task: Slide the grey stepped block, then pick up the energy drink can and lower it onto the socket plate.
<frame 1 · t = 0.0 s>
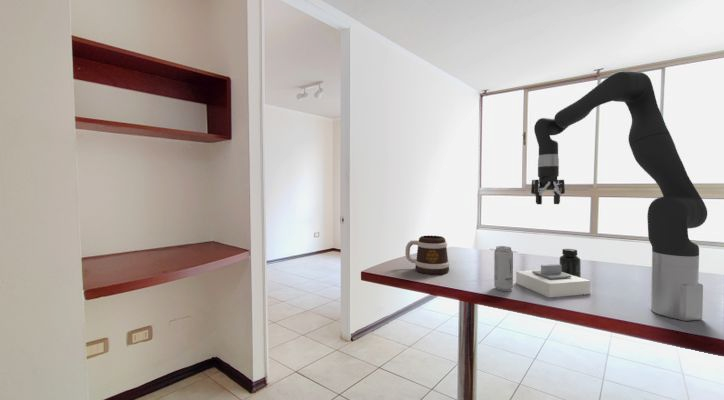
hand: (547, 204, 130), 29 cm above the table, tool pointing down, fingers open, 8 cm apart
socket plate: (551, 288, 110), on the table
grey stepped block: (551, 270, 110), point 7 cm above the table, slide at 0.0 cm
mug: (426, 270, 137), on the table
energy drink can: (503, 289, 109), on the table
supplement bottle: (569, 280, 120), on the table
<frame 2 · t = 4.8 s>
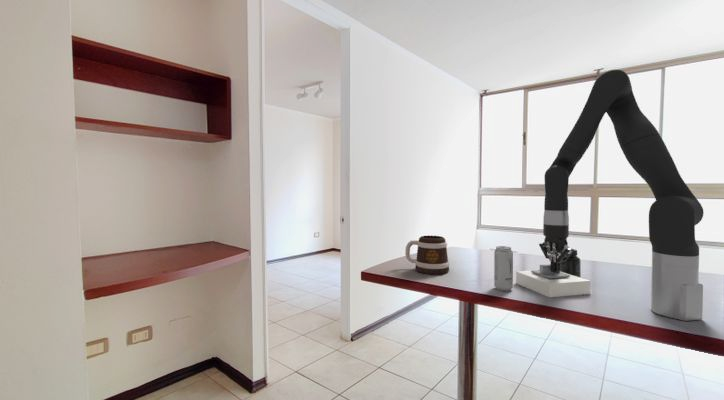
hand: (555, 272, 108), 6 cm above the table, tool pointing down, fingers closed
grey stepped block: (549, 269, 110), point 7 cm above the table, slide at 0.6 cm, touching gripper
everything else where it was.
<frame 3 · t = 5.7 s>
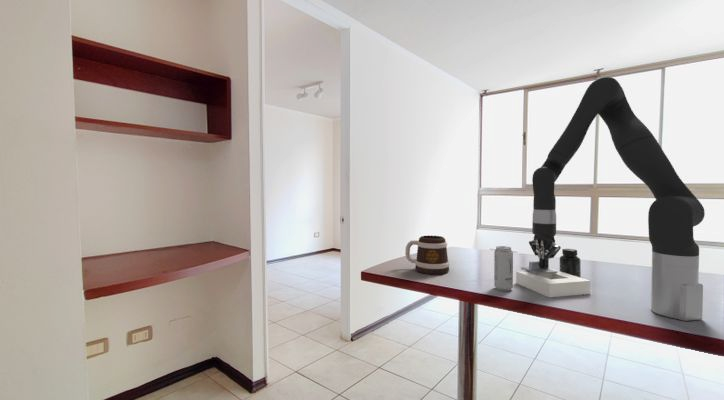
hand: (543, 268, 113), 6 cm above the table, tool pointing down, fingers closed
grey stepped block: (538, 266, 115), point 7 cm above the table, slide at 5.9 cm, touching gripper
everything else where it was.
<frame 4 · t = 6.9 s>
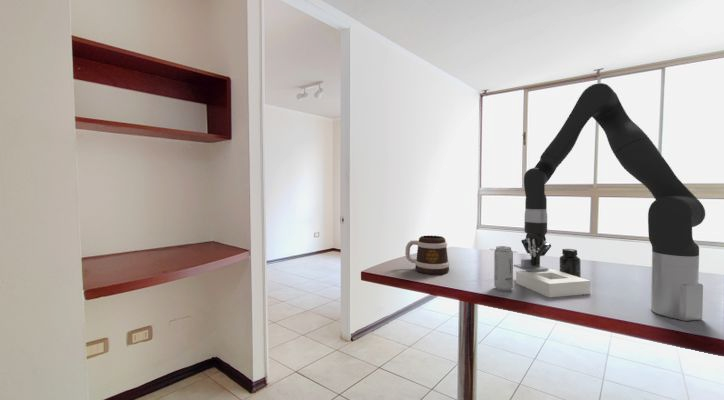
hand: (535, 266, 117), 6 cm above the table, tool pointing down, fingers closed
grey stepped block: (530, 263, 119), point 7 cm above the table, slide at 10.1 cm, touching gripper
everything else where it was.
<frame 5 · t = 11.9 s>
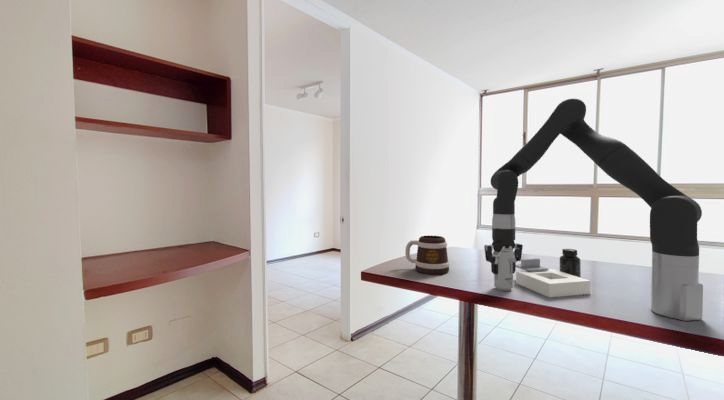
hand: (503, 273, 109), 6 cm above the table, tool pointing down, fingers closed on energy drink can, 6 cm apart
grey stepped block: (530, 263, 119), point 7 cm above the table, slide at 10.1 cm
energy drink can: (503, 289, 109), on the table, touching gripper
everything else where it was.
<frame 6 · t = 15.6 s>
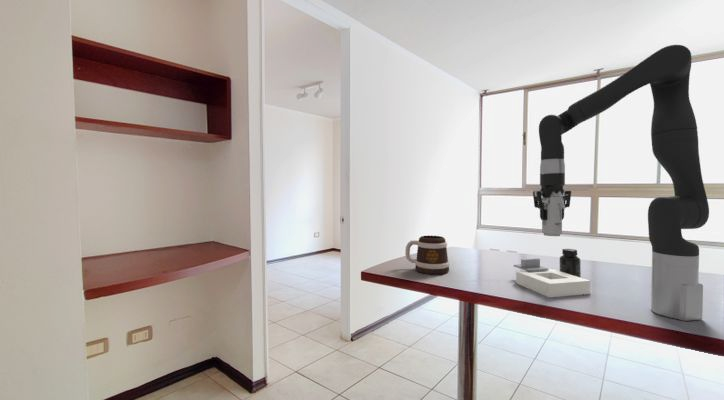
hand: (551, 219, 109), 25 cm above the table, tool pointing down, fingers closed on energy drink can, 6 cm apart
energy drink can: (551, 235, 109), point 19 cm above the table, touching gripper
everything else where it was.
when the fingers open (8 cm above the table, at t = 19.2 s): energy drink can drops 1 cm, resting on socket plate.
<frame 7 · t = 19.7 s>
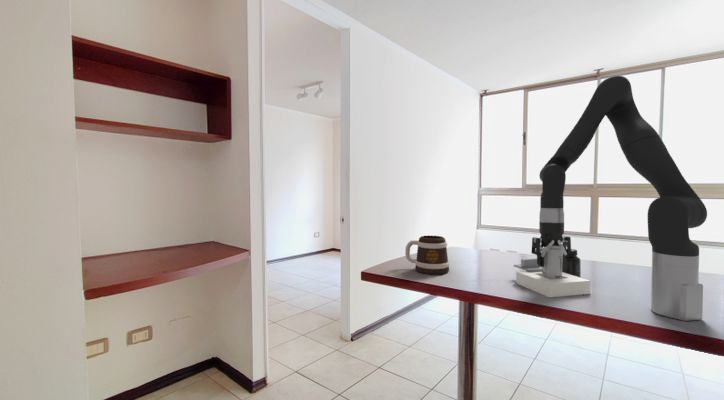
hand: (551, 265, 110), 8 cm above the table, tool pointing down, fingers open, 8 cm apart
energy drink can: (551, 287, 110), resting on socket plate
everything else where it was.
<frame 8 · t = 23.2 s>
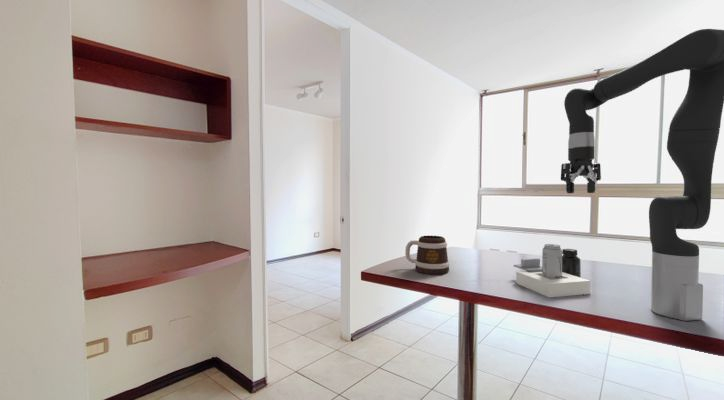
hand: (580, 193, 108), 34 cm above the table, tool pointing down, fingers open, 8 cm apart
nothing on the table moved.
at the end: grey stepped block slide at 10.1 cm; energy drink can 0.4 cm off-centre on the socket plate, point 0.3 cm above the socket plate's base; energy drink can tilted 0° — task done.
